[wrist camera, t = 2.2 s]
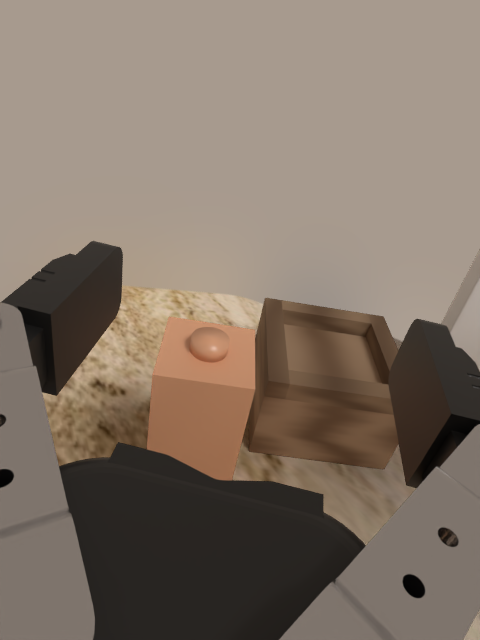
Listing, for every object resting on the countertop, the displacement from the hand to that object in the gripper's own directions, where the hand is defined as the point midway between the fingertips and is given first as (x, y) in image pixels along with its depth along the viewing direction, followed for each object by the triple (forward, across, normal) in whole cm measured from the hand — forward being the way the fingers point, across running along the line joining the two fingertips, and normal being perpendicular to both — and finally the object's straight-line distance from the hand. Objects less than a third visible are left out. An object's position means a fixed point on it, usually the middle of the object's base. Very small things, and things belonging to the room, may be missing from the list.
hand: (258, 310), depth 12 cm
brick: (+8, +2, +21) cm, 23 cm away
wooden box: (+20, -6, +21) cm, 29 cm away
